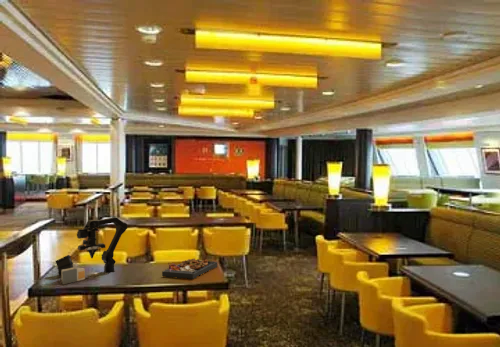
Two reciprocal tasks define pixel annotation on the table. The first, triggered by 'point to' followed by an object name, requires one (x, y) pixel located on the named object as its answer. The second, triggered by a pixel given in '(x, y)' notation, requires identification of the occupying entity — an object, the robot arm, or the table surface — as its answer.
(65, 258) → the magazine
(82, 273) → the block
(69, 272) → the side door
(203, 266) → the food platter
